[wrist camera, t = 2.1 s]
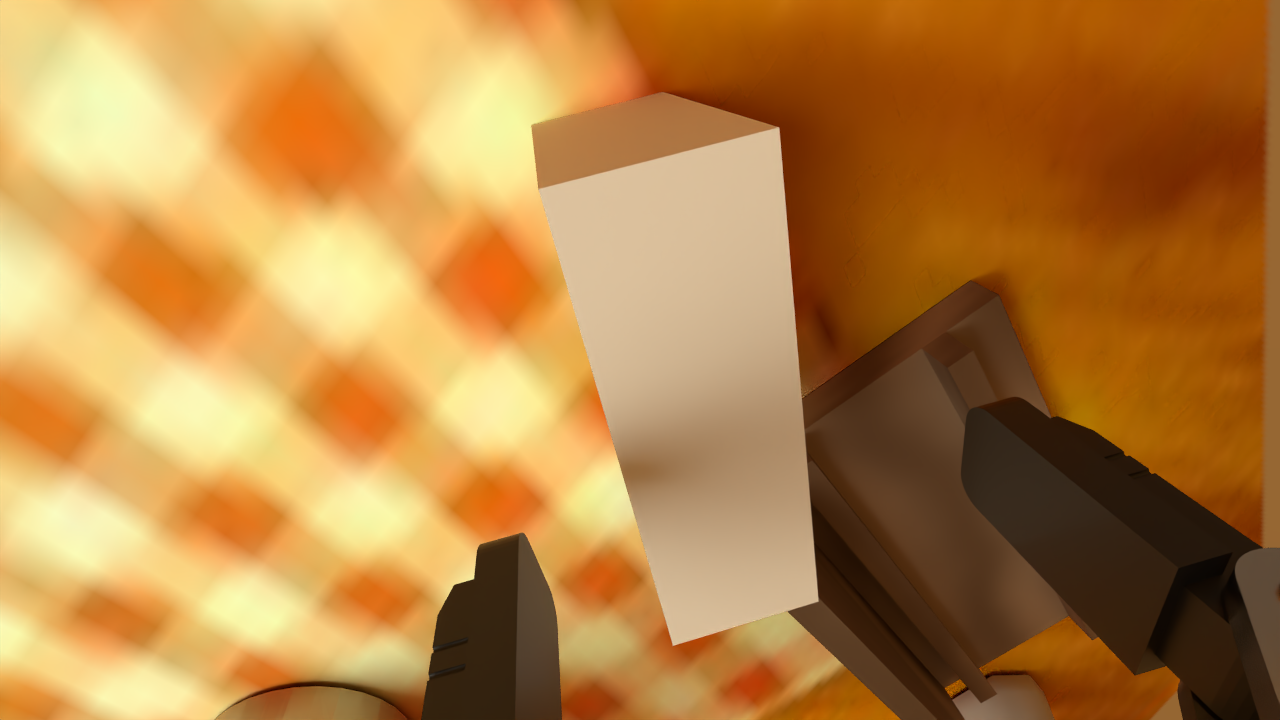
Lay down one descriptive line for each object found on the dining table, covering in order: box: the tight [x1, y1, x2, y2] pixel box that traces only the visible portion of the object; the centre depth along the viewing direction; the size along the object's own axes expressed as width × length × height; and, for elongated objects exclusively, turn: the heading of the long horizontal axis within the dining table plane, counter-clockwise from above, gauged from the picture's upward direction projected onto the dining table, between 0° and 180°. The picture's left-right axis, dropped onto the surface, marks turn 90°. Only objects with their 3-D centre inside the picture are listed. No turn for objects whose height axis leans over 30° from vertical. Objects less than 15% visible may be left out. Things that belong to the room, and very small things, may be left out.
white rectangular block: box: [531, 92, 819, 646], centre depth 16 cm, size 12×4×9 cm, turn 12°
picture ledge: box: [788, 281, 1098, 720], centre depth 25 cm, size 12×22×8 cm, turn 37°
